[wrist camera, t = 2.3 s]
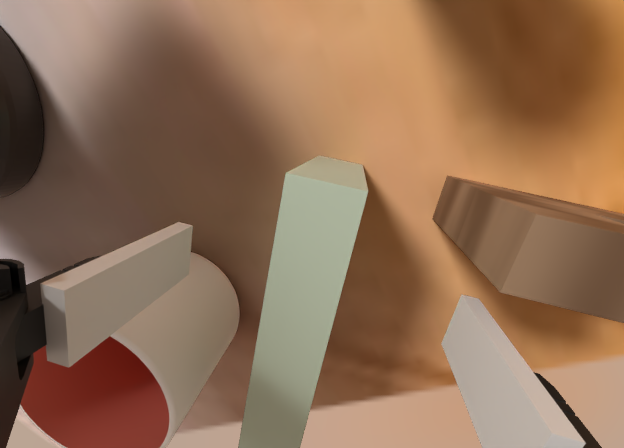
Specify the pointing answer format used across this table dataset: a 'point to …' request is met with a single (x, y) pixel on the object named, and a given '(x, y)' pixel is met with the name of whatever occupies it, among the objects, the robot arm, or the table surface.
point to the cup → (139, 369)
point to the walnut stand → (538, 245)
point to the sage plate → (301, 297)
